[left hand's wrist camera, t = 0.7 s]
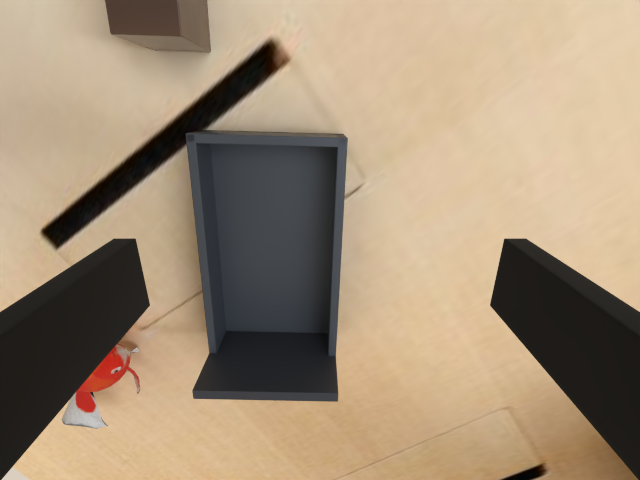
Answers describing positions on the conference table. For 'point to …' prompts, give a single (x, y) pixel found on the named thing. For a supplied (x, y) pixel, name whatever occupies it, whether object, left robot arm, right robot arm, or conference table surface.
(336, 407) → the conference table surface
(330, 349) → the dark grey open box
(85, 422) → the fish
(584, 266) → the conference table surface
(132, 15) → the block
